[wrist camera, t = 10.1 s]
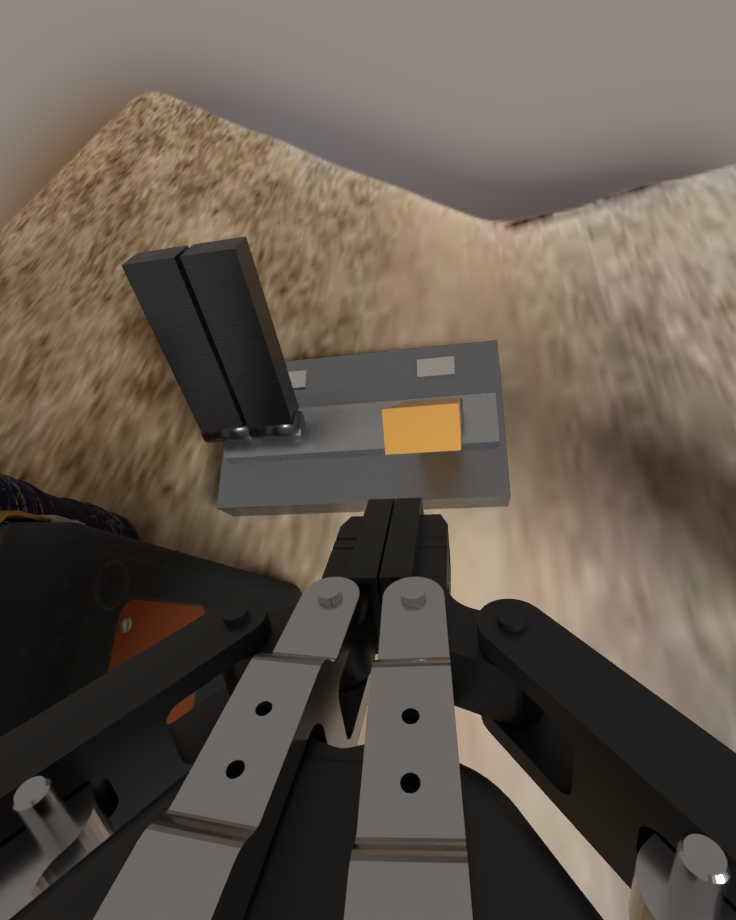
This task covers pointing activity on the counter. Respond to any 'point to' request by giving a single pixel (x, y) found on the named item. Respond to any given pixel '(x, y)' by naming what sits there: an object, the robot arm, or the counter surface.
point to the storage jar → (60, 507)
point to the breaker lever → (423, 426)
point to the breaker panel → (312, 397)
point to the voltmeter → (98, 607)
